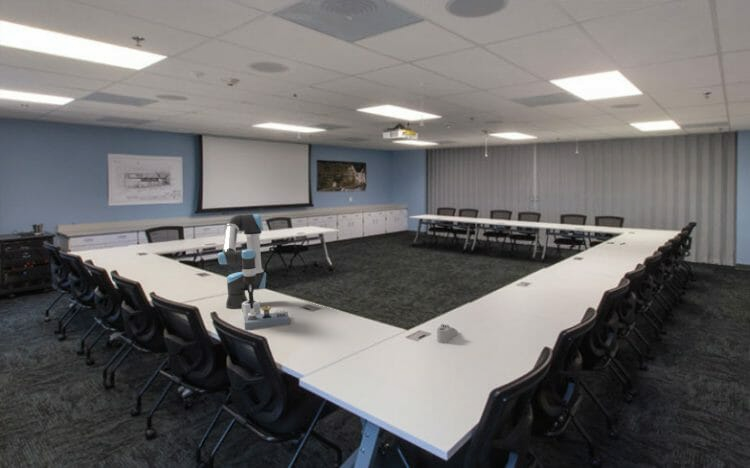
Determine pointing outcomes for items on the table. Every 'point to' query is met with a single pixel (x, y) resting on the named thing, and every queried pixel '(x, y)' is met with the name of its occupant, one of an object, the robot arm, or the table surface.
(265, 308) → the pot knob
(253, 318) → the knob
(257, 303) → the mug
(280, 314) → the knob
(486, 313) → the table surface
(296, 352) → the table surface
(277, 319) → the panel
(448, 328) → the grey mounting bracket
